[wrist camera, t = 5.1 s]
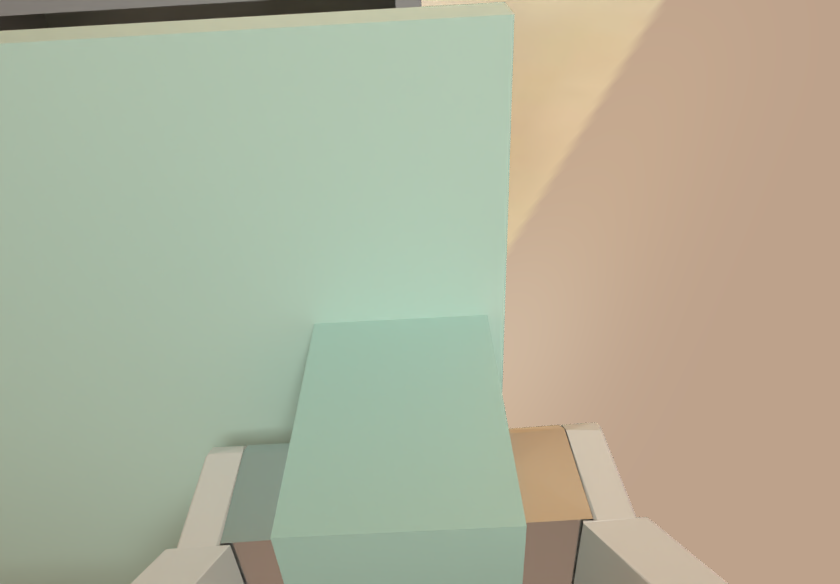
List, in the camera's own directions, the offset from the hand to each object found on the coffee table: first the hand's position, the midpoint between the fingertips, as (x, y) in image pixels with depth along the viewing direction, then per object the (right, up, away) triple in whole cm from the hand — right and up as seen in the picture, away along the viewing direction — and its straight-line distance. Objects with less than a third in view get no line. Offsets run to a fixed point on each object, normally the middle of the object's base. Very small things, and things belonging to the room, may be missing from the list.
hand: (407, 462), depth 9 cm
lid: (-6, +1, +2) cm, 7 cm away
